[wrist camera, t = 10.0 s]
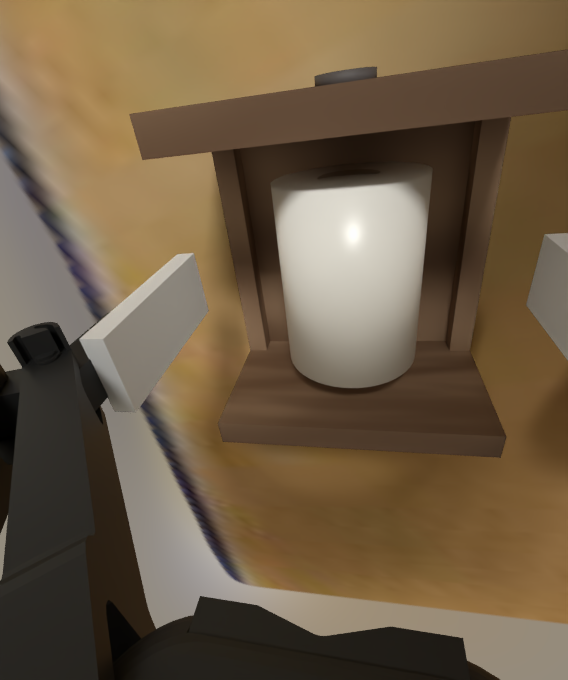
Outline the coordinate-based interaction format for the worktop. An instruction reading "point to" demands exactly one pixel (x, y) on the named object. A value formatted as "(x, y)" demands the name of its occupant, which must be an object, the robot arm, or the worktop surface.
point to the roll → (352, 268)
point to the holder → (440, 249)
